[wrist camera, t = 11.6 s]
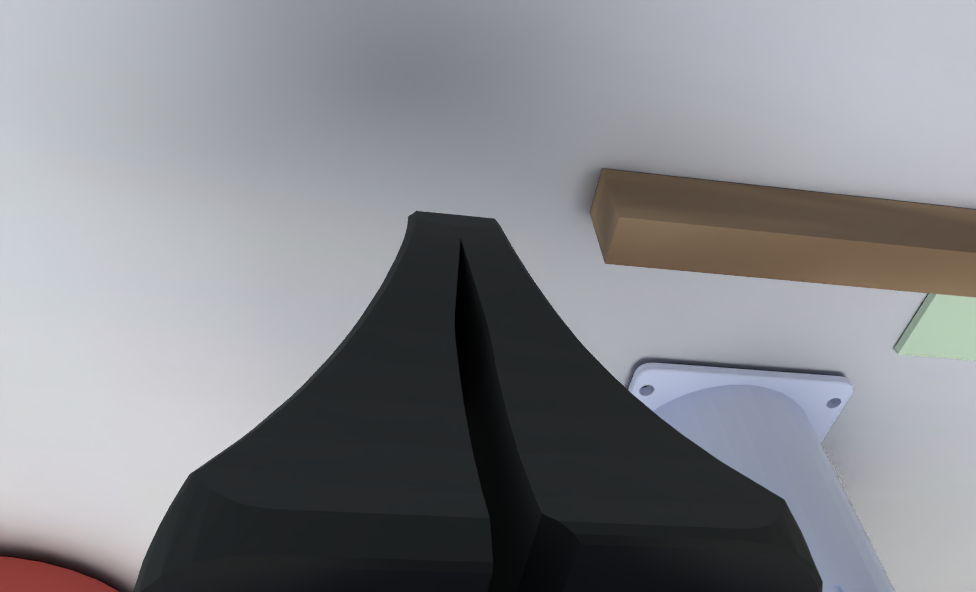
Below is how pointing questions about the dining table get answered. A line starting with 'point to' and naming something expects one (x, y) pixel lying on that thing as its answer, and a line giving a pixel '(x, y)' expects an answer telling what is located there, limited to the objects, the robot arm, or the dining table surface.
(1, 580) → the citrus juicer
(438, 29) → the dining table surface
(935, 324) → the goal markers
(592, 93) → the dining table surface
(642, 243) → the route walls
